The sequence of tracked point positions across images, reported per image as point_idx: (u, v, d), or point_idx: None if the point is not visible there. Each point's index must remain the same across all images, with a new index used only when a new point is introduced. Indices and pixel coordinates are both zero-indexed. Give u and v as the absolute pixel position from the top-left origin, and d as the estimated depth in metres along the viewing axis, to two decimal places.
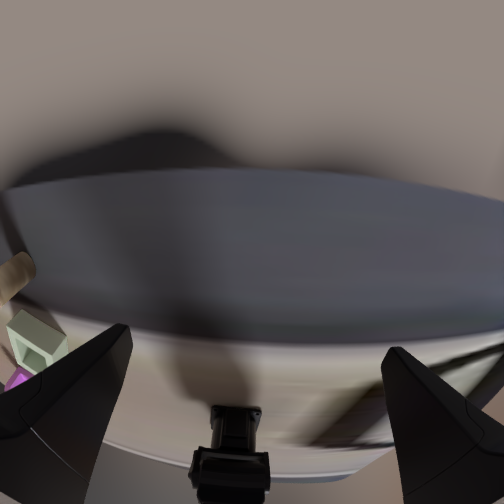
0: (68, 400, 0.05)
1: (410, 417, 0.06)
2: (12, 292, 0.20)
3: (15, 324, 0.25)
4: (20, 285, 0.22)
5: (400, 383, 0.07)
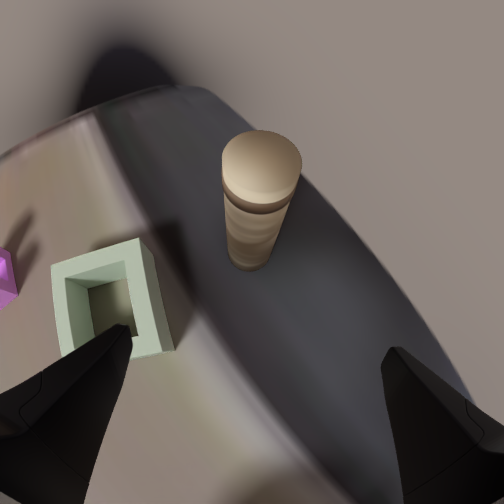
0: (67, 400, 0.05)
1: (410, 417, 0.06)
2: (257, 252, 0.19)
3: (145, 255, 0.20)
4: (255, 259, 0.20)
5: (400, 383, 0.07)
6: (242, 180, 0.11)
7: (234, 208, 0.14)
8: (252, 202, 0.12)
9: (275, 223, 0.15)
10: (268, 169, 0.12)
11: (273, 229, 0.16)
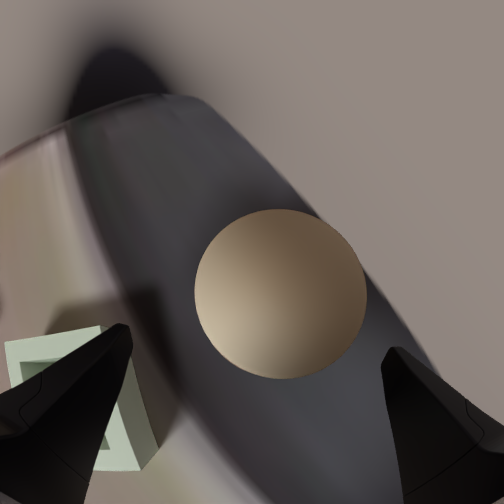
0: (67, 400, 0.05)
1: (410, 417, 0.06)
2: None
3: None
4: None
5: (400, 383, 0.07)
6: (239, 351, 0.05)
7: None
8: None
9: None
10: (298, 319, 0.05)
11: None
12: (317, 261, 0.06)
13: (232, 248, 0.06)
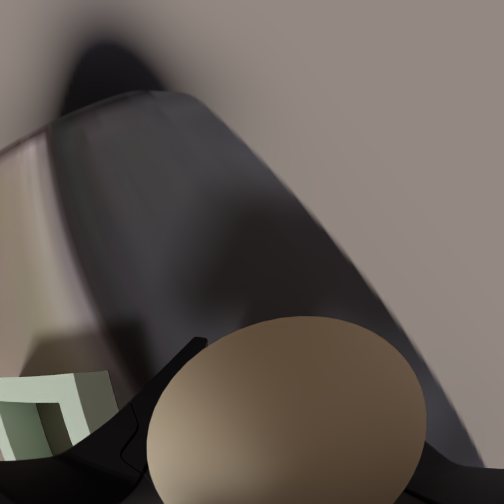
0: None
1: None
2: None
3: (88, 393, 0.10)
4: None
5: None
6: None
7: None
8: None
9: None
10: (318, 497, 0.02)
11: None
12: (360, 411, 0.03)
13: (207, 399, 0.03)
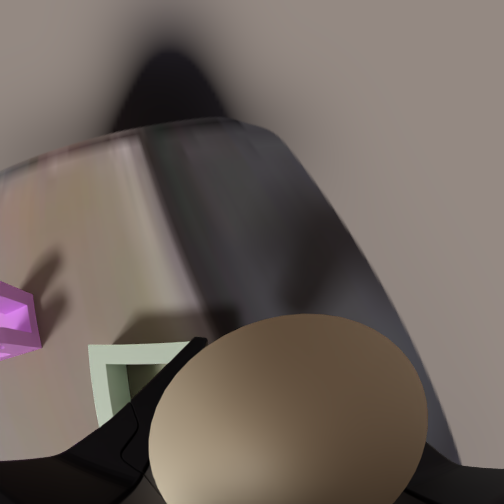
0: None
1: None
2: None
3: None
4: None
5: None
6: None
7: None
8: None
9: None
10: (320, 495, 0.02)
11: None
12: (362, 408, 0.03)
13: (209, 397, 0.03)
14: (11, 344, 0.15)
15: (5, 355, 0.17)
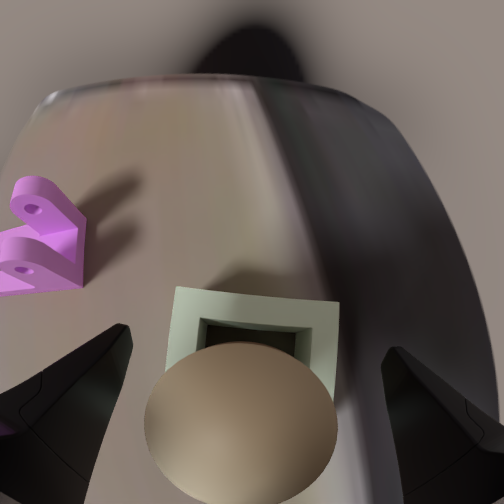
0: (68, 400, 0.05)
1: (410, 417, 0.06)
2: None
3: None
4: None
5: (400, 383, 0.07)
6: (193, 486, 0.04)
7: None
8: None
9: None
10: (253, 465, 0.04)
11: None
12: (280, 408, 0.04)
13: (180, 392, 0.04)
14: (46, 269, 0.13)
15: (26, 288, 0.15)
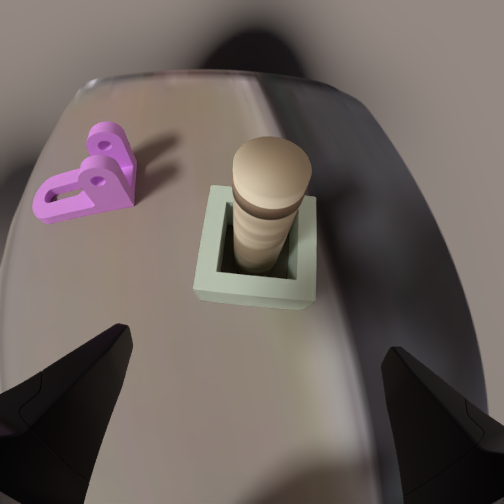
0: (68, 400, 0.05)
1: (410, 417, 0.06)
2: (264, 258, 0.19)
3: None
4: (262, 266, 0.20)
5: (400, 383, 0.07)
6: (252, 185, 0.12)
7: (243, 213, 0.14)
8: (262, 207, 0.12)
9: (283, 229, 0.15)
10: (278, 175, 0.12)
11: (281, 235, 0.16)
12: (287, 155, 0.12)
13: (249, 149, 0.12)
14: (116, 180, 0.21)
15: (84, 208, 0.23)
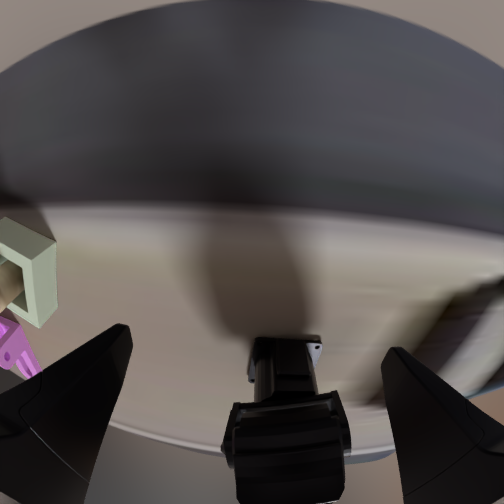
0: (67, 400, 0.05)
1: (410, 417, 0.06)
2: (13, 288, 0.18)
3: None
4: (22, 280, 0.20)
5: (400, 383, 0.07)
6: None
7: None
8: None
9: None
10: None
11: None
12: None
13: None
14: (3, 345, 0.23)
15: (27, 355, 0.28)
